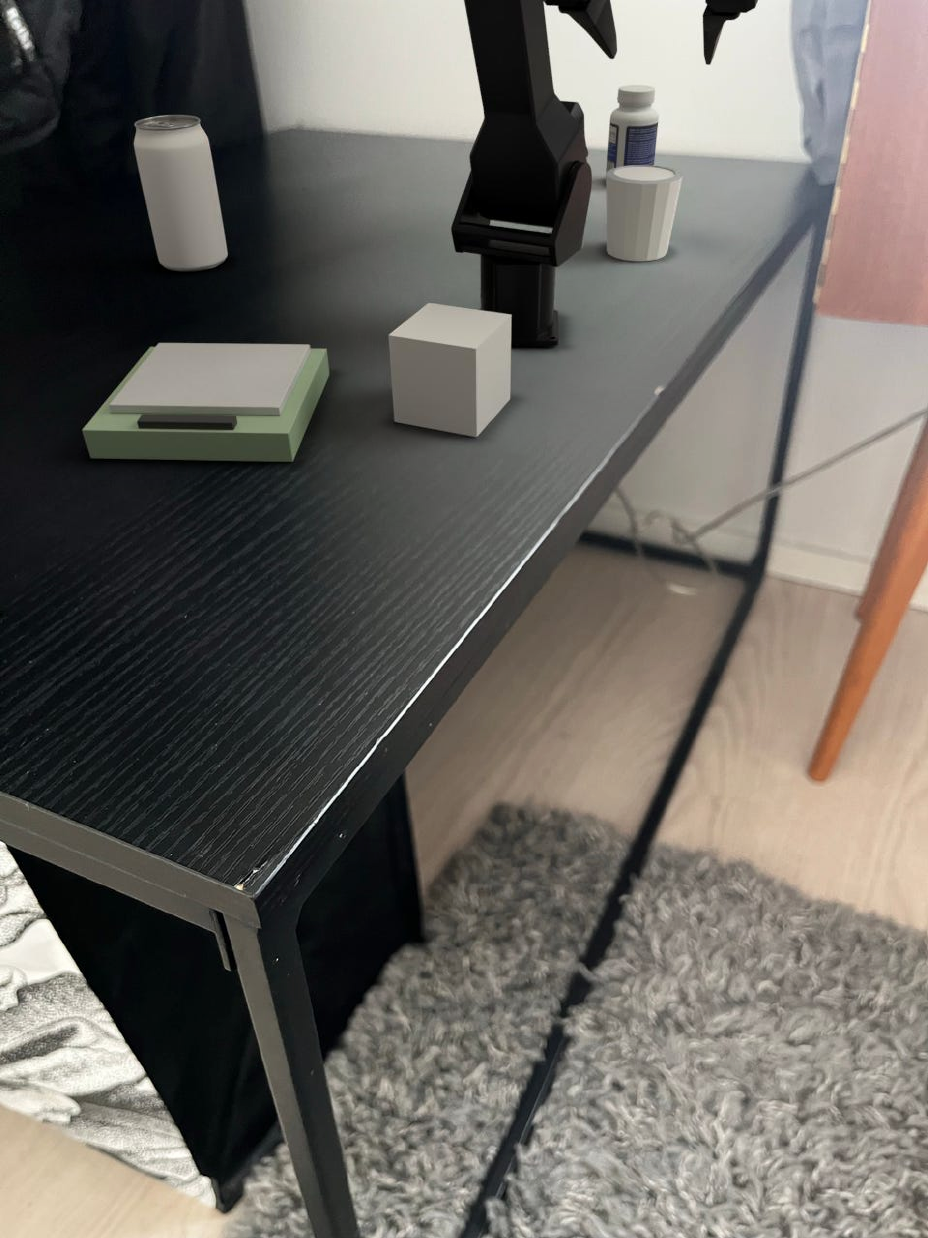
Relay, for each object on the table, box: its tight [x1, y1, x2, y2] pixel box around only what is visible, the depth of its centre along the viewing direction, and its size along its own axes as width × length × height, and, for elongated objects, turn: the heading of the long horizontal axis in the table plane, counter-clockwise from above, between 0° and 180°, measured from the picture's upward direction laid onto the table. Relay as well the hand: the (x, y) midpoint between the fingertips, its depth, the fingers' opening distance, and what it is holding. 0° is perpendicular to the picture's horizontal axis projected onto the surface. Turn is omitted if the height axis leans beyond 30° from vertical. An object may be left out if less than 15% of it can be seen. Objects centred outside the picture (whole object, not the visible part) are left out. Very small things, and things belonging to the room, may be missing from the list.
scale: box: [81, 342, 330, 463], centre depth 63 cm, size 13×13×3 cm
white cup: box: [605, 165, 684, 262], centre depth 87 cm, size 7×7×7 cm
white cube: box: [388, 302, 512, 438], centre depth 62 cm, size 6×6×6 cm
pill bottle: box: [605, 84, 660, 174], centre depth 106 cm, size 5×5×10 cm
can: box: [133, 114, 229, 273], centre depth 85 cm, size 6×6×12 cm
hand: (660, 57), depth 87 cm, fingers open, 9 cm apart
